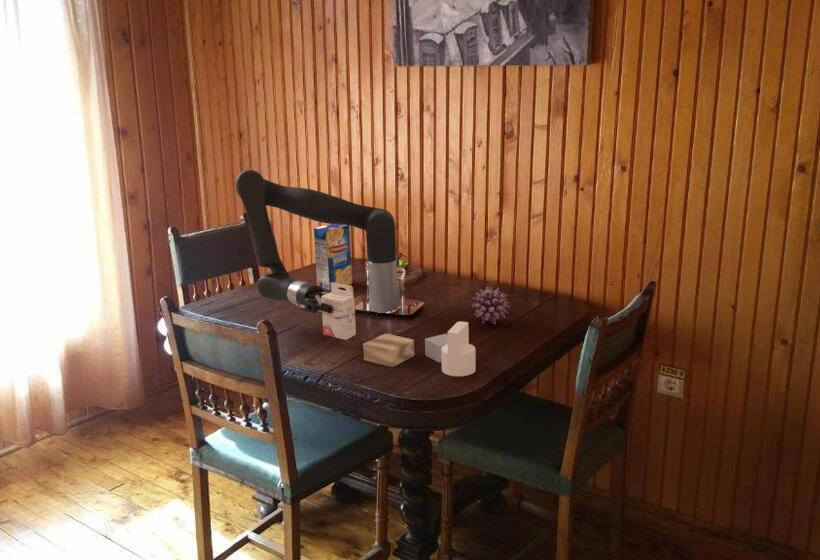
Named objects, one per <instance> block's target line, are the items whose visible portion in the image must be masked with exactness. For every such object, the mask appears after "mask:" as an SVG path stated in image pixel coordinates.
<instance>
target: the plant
mask: <svg viewBox="0 0 820 560" xmlns="http://www.w3.org/2000/svg"><path fill="white" fill-rule="evenodd" d="M403 257H404V260H403V259H402V260H401V258H403ZM408 260H409V259H408V256H406V255H404V253H402V252H398V253H397V254H396V267H404V268H405V271H406V276H405V282H406V284H405V285H406V286H407V285H412V284H414V283H417V280H418V279H420V278H422V277H423V276H424V275H423V269H422V268H420V266H418V267H416V266H412V265H408V264H409V262H407V261H408ZM403 262H405V263H403Z"/></svg>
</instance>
